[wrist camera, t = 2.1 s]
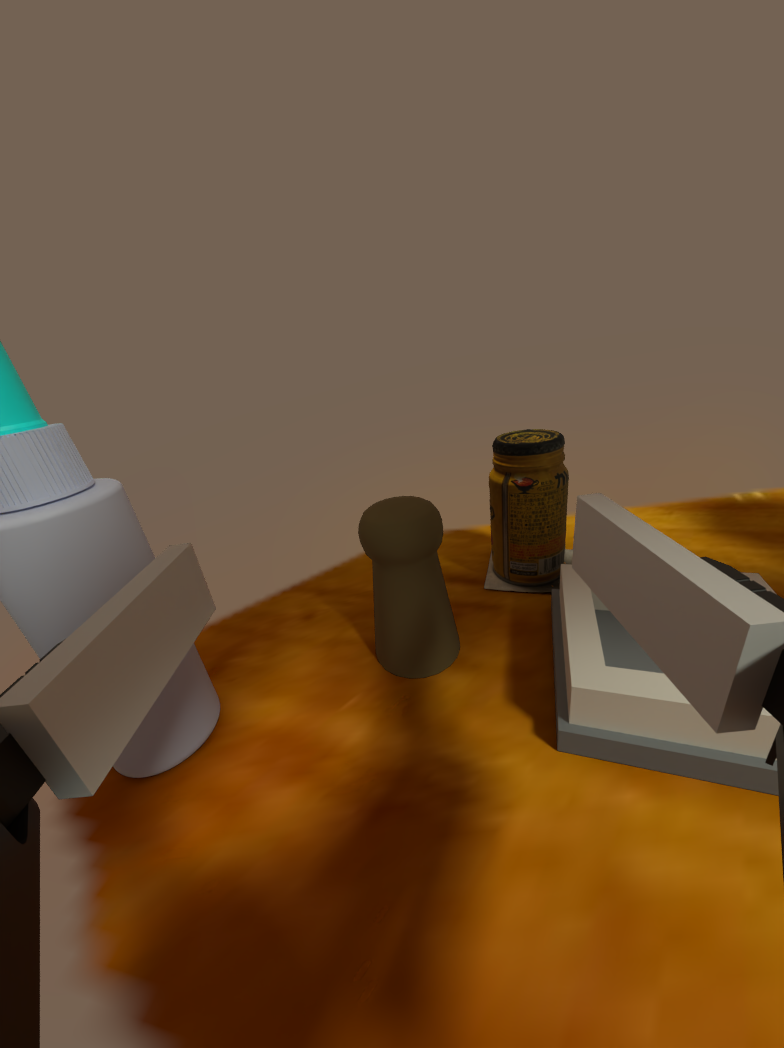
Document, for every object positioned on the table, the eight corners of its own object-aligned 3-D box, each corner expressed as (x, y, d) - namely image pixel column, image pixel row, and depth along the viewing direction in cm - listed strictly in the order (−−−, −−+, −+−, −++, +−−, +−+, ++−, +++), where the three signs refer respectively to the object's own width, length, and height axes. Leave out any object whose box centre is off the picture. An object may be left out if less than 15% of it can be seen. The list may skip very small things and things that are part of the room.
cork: (386, 617, 31) (363, 488, 27) (462, 619, 30) (451, 483, 25) (365, 675, 26) (332, 527, 21) (457, 681, 24) (442, 523, 20)
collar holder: (748, 621, 25) (764, 569, 24) (887, 817, 15) (931, 751, 14) (551, 605, 30) (552, 559, 28) (557, 750, 19) (560, 693, 18)
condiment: (492, 548, 39) (487, 428, 34) (586, 551, 36) (596, 420, 31) (483, 591, 33) (477, 451, 28) (596, 598, 30) (611, 444, 25)
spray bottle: (197, 678, 28) (39, 343, 19) (240, 720, 24) (69, 323, 15) (101, 744, 24) (-159, 357, 15) (135, 806, 20) (-187, 335, 11)
